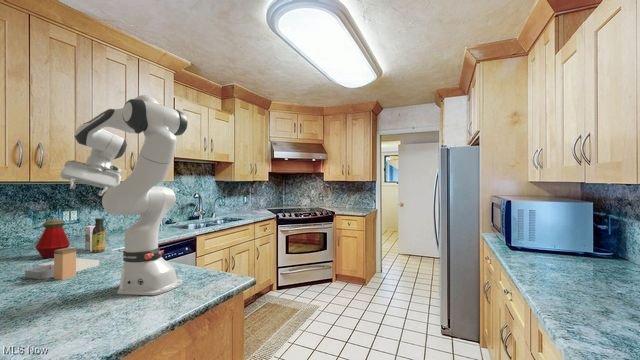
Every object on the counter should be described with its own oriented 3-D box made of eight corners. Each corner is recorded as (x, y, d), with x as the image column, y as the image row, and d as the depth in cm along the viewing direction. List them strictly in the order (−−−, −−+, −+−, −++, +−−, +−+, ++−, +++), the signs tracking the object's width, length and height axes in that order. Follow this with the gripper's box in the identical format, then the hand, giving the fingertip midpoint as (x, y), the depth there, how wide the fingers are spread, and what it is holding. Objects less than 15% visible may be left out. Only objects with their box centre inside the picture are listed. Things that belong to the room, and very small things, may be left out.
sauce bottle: (97, 253, 157) (97, 218, 158) (88, 253, 159) (88, 218, 159) (108, 250, 164) (108, 217, 164) (99, 250, 165) (99, 217, 165)
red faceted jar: (28, 258, 148) (29, 221, 148) (60, 252, 161) (60, 218, 161) (44, 261, 142) (45, 222, 142) (76, 254, 155) (76, 219, 155)
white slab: (99, 265, 135) (99, 259, 135) (45, 280, 114) (45, 272, 114) (69, 262, 140) (69, 256, 140) (13, 275, 119) (13, 269, 119)
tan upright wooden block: (75, 276, 119) (76, 248, 119) (62, 279, 114) (62, 251, 114) (67, 275, 120) (67, 247, 120) (53, 278, 115) (54, 250, 116)
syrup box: (101, 248, 169) (101, 225, 169) (89, 250, 164) (90, 226, 164) (95, 247, 172) (96, 224, 172) (84, 249, 166) (84, 226, 166)
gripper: (68, 154, 116) (55, 180, 108) (125, 170, 128) (116, 194, 120) (66, 163, 119) (52, 188, 111) (121, 177, 132) (112, 201, 123)
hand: (86, 191), depth 116 cm, fingers open, 8 cm apart
